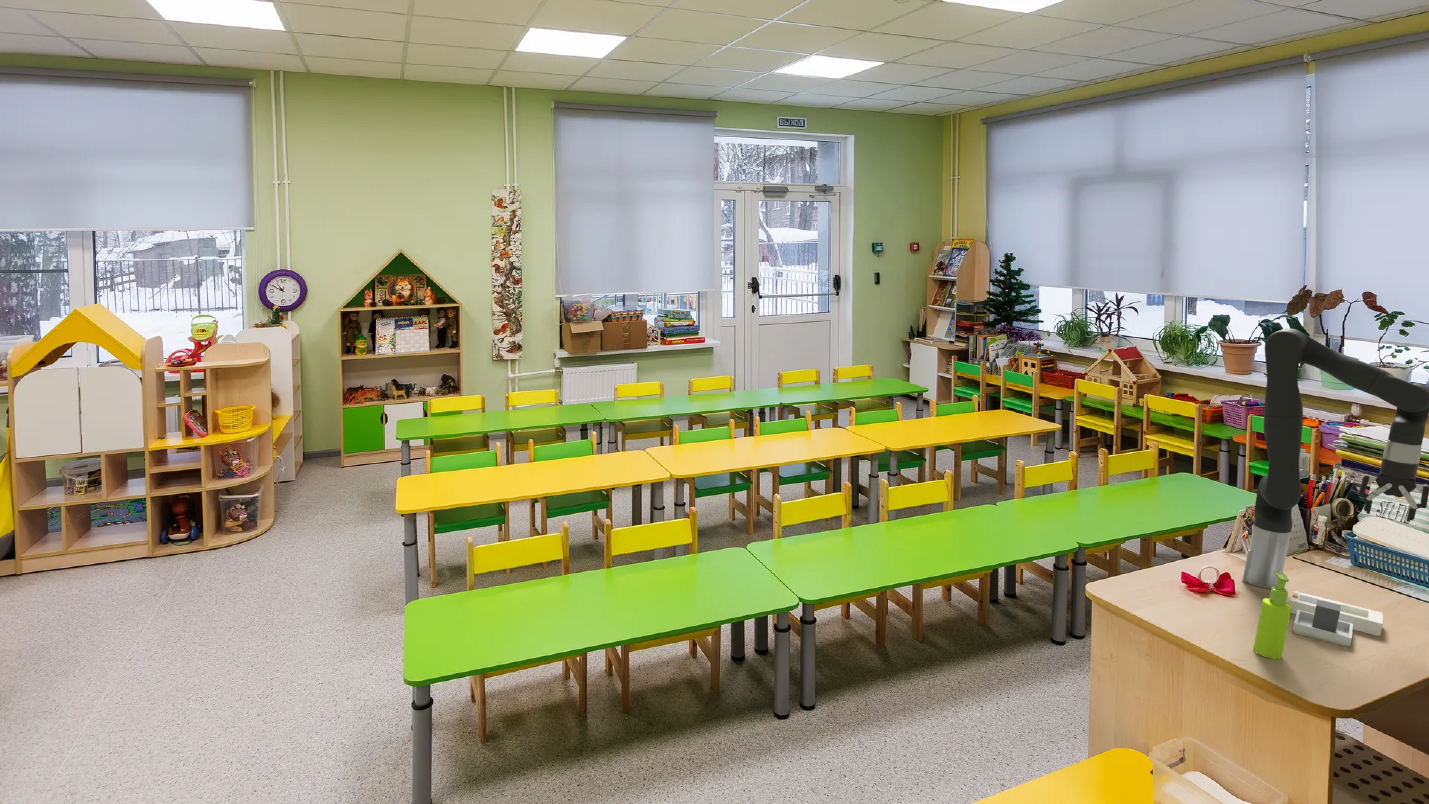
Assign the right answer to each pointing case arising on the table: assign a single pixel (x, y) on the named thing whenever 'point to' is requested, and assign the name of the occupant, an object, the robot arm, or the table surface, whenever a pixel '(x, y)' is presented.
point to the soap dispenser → (1273, 621)
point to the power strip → (1341, 612)
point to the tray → (1305, 628)
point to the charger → (1326, 616)
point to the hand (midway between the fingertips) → (1387, 517)
